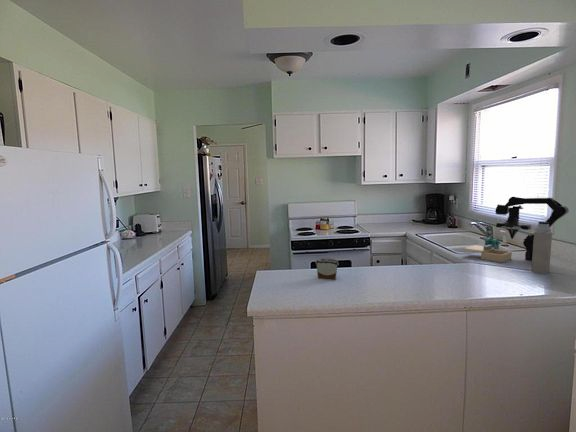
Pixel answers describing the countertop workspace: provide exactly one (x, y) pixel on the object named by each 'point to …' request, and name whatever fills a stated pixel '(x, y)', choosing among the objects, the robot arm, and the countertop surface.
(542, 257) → the thermos bottle
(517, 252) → the countertop surface
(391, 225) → the countertop surface
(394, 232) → the countertop surface
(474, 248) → the carton lid
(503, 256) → the carton
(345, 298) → the countertop surface
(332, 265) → the food container
